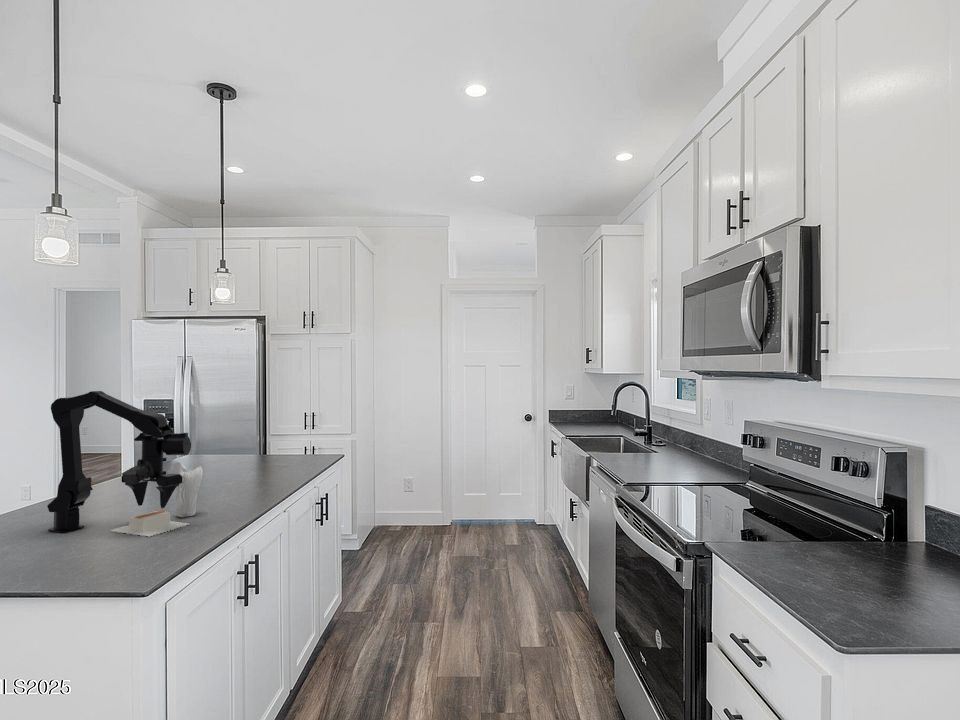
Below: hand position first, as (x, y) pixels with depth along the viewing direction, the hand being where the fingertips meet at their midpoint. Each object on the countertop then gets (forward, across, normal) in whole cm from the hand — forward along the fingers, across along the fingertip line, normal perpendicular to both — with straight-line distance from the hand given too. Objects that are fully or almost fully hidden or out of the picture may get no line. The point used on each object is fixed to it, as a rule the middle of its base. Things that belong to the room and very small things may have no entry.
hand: (151, 506), depth 170 cm
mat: (+6, 0, 0) cm, 7 cm away
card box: (+6, 0, 0) cm, 6 cm away
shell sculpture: (+7, -2, +15) cm, 16 cm away
